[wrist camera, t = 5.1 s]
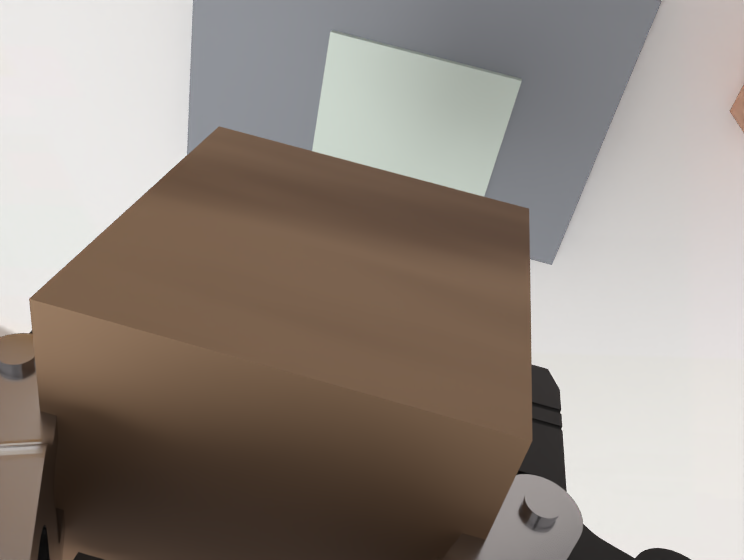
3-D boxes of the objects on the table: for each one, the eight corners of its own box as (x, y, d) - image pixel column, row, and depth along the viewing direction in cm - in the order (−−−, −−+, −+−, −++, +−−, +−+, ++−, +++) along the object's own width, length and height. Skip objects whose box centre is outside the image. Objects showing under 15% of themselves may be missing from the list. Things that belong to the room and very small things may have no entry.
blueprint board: (207, -116, 27) (194, -113, 26) (657, -5, 26) (662, 3, 25) (194, 157, 34) (184, 168, 33) (551, 253, 33) (551, 268, 32)
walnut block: (219, 126, 13) (29, 298, 8) (529, 208, 13) (532, 440, 8) (200, 364, 16) (56, 590, 11) (446, 434, 16) (411, 698, 11)
